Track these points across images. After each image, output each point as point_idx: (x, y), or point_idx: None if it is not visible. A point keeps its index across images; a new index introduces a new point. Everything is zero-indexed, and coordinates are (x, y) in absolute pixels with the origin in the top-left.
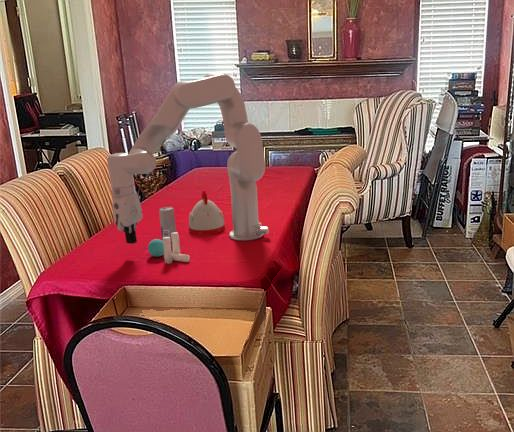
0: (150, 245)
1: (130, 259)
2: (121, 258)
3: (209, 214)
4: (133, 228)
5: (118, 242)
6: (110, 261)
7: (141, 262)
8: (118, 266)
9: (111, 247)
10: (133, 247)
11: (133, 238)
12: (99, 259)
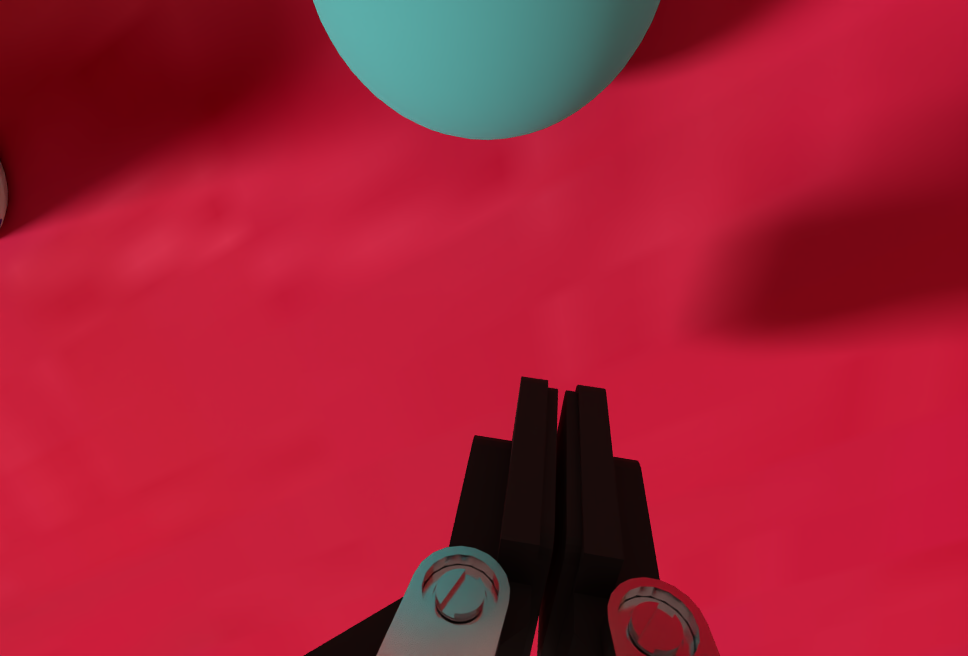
0: (633, 7)
1: (674, 313)
2: (645, 422)
3: None
4: (501, 636)
5: (251, 591)
6: (746, 488)
7: (797, 102)
8: (939, 346)
9: (374, 600)
10: (309, 437)
11: (610, 446)
12: (687, 590)
